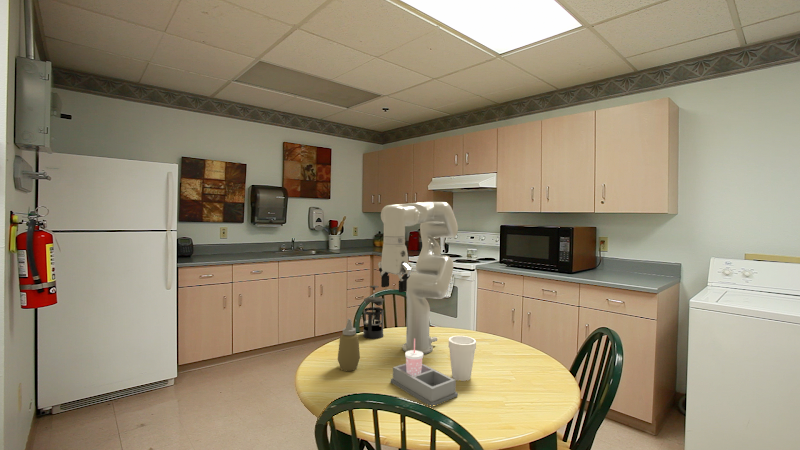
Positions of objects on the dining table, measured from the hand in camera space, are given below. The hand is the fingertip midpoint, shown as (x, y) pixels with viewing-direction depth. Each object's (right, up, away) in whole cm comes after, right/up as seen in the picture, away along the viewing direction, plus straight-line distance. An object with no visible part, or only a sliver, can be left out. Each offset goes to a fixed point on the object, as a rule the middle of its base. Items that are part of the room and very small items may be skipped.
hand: (393, 289), depth 135 cm
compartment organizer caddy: (+10, -30, -12) cm, 34 cm away
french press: (-10, -28, +40) cm, 50 cm away
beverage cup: (+7, -29, -8) cm, 31 cm away
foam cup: (+24, -30, -3) cm, 39 cm away
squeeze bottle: (-16, -29, +3) cm, 34 cm away
